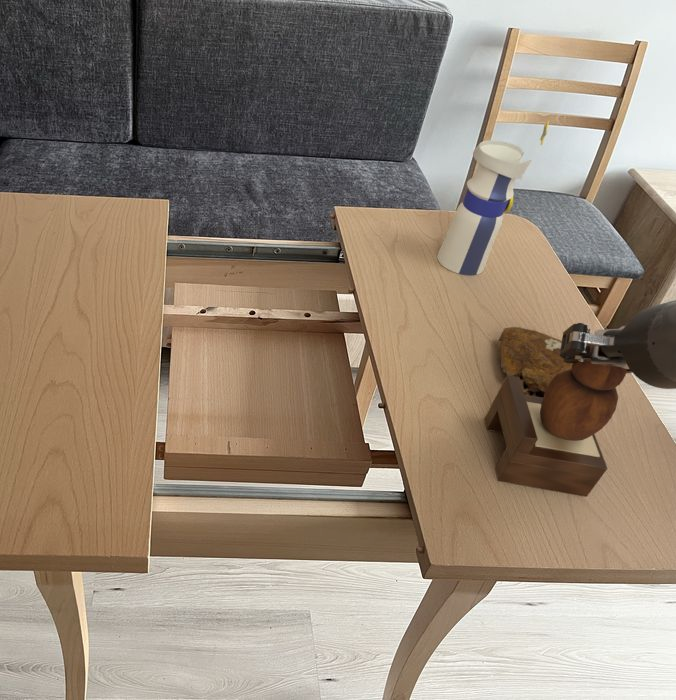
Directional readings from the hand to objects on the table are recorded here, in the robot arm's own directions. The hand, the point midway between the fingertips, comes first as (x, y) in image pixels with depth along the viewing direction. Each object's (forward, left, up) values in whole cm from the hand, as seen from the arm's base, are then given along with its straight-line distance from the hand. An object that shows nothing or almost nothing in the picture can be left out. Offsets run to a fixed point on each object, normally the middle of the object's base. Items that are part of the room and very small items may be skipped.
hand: (594, 358), depth 74 cm
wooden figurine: (0, +2, -9) cm, 10 cm away
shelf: (+1, +2, -14) cm, 14 cm away
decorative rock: (-3, -13, -15) cm, 20 cm away
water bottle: (+4, -40, -15) cm, 43 cm away
